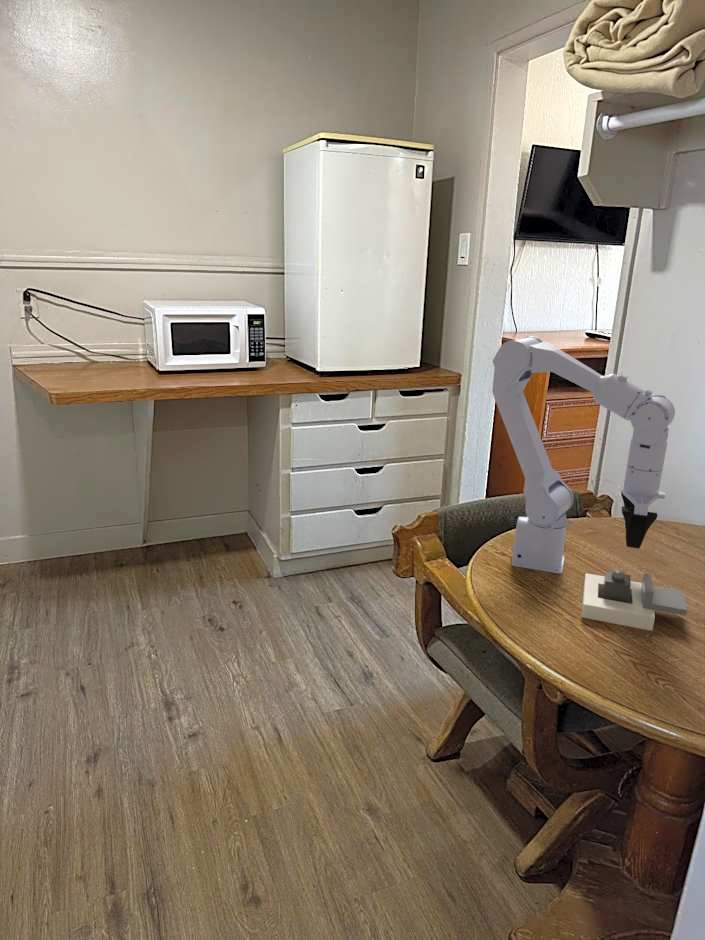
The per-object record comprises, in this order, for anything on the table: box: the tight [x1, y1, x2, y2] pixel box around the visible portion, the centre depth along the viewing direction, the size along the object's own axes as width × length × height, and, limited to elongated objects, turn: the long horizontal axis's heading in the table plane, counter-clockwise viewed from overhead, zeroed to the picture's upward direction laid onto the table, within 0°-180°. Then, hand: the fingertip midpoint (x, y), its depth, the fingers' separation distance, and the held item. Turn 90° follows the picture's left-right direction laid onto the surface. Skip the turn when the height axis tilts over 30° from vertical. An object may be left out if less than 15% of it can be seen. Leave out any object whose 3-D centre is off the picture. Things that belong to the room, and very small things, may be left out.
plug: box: [600, 568, 631, 603], centre depth 115 cm, size 4×4×7 cm
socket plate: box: [581, 572, 656, 632], centre depth 116 cm, size 11×12×2 cm
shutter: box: [641, 572, 688, 616], centre depth 113 cm, size 6×7×3 cm
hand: (632, 538), depth 121 cm, fingers open, 7 cm apart
